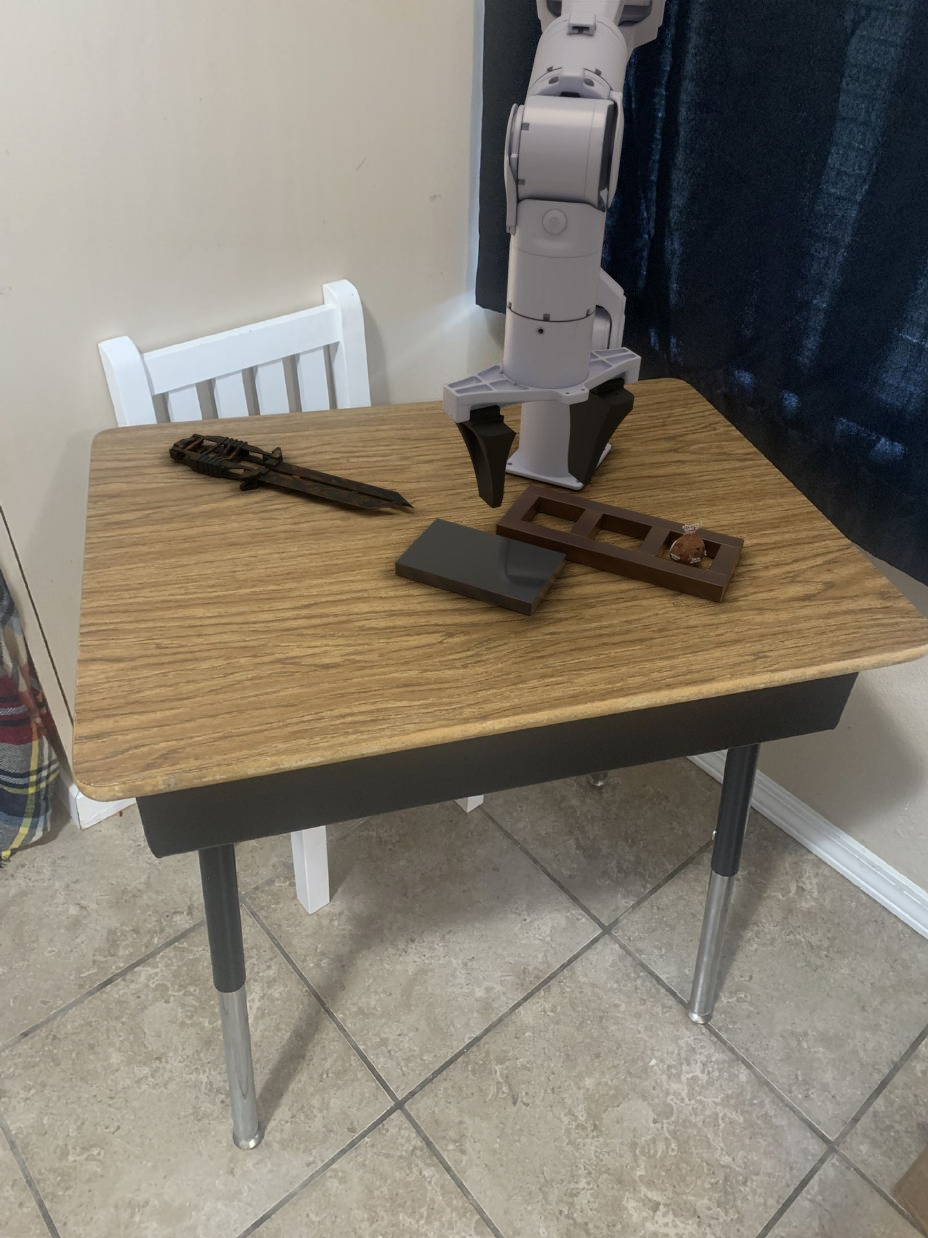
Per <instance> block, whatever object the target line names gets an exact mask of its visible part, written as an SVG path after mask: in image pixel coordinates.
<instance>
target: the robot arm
mask: <svg viewBox="0 0 928 1238" xmlns="http://www.w3.org/2000/svg"><path fill="white" fill-rule="evenodd" d="M666 1H667V0H536V11H537V17H538V19H539V20H540V25H541V27H540V28H541V32H542V34H541V35H540V38H539V41H538V44H537V48H536V52H535V57H534V61H533V66H532V71H531V75H530V80H529V84H528V88H527V92H526V97H525V100H524V104H520V105H519V106H518V103H513V105H512V107H511V110H510V113H509V116H508V120H507V126H506V135H505V145H504V161H503V162H504V163H503V169H504V170H503V173H504V184H505V193H506V222H505V223H506V233H507V234H508V233H509V234H510V240H509V251H508V252H509V254H508V270H507V271H508V273H507V288H506V307H505V308H506V309H505V310H506V312H505V323H504V324H505V325H504V326H505V327H504V344H503V360H501V361H499V362H498V363H495V364H493V365H490V366H488V367H486V368H484V369H481V370H480V371H478V372H475V373H473V374H471V375H469V376H467V377H464V378H462V379H459V380H455V381H452V382H451V381H450V382H448V383H443V385H442V412H444V414H446V416H447V417H449V418H450V419H451V420H452V421H454V424H455V425H456V427H457V429H458V431H459V433H460V435H461V437H462V439H463V443H464V444H465V447H466V450H467V451H468V454H469V455H468V456H469V458H470V461H471V464H472V467H473V471H474V475H475V480H476V485H477V491H478V496H479V498H480V499H481V500H482V501H483V502H485V504H487V505H488V507H490V509H498V508H501V507H502V505H503V501H504V495H505V482H506V473H508V474H512V475H516V476H521V477H524V478H527V479H532V480H535V481H540V482H543V483H547V484H551V485H554V486H555V485H556V486H558V487H564V488H567V489H571V490H574V491H580V490H581V489H582V488H583V487H584V486H585V485H587V484H590V483H591V481H592V479H593V476H594V474H595V472H596V470H597V468H598V467H599V466H600V464H601V463H602V462H603V461H604V459H605V458H606V456H607V455H608V454H609V453H610V451H611V450H612V445H611V444H610V443H609V442H610V440H611V438H612V436H613V435H614V434H615V432H616V431H617V429H618V427H619V426H620V424H622V422H623V421H624V420H625V419H626V417H627V416H628V415H629V414H631V412H632V411H633V409H634V405H635V394H633V393H632V392H631V391H629V390H628V389H627V388H625V385H626V386H629V385H633V384H637V383H638V382H639V375H640V374H639V373H640V369H641V361H642V356H640V355H638V354H637V353H635V352H633V351H632V350H630V349H629V348H627V347H625V346H623V347H622V344H623V336H624V329H625V319H626V315H625V309H626V301H627V297H626V296H625V295H624V293H625V291H624V289H623V287H622V286H621V285H620V284H619V283H618V282H617V281H616V280H614V279H613V278H612V277H611V276H610V275H609V274H608V273H607V272H606V271H605V270H604V269H603V267H601V263H602V254H603V247H604V246H603V245H604V238H605V228H606V219H607V211H608V210H607V208H608V209H609V208H611V205H612V201H613V199H614V197H615V193H616V190H617V187H618V186H617V185H618V178H619V171H620V164H621V163H620V162H621V154H622V147H623V139H624V138H623V137H624V128H625V117H624V107H623V99H624V98H623V97H624V93H623V91H624V84H625V79H626V71H627V67H628V66H627V65H628V63H629V61H630V58H631V56H632V54H633V51H634V49H636V48H638V47H641V46H642V45H645V44H647V43H649V42H652V41H653V40H656V39H657V37H658V31H659V30H658V29H659V28H660V27H661V26H662V25H663V19H664V12H665V4H666ZM597 306H600V307H597ZM517 405H521V411H520V426H519V438H518V439H519V440H518V448H516V450H515V451H514V453H513V454H512V455H511V456H510V451H511V449H512V446H513V443H514V442H515V441H514V440H515V438H516V437H517V434H518V433H517V432H516V431H515V430H514V429H512V428H511V427H510V426H509V425H507V424H506V423H505V415H504V414H501V409H503V408H509V407H512V406H517ZM509 456H510V457H509Z"/></svg>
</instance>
